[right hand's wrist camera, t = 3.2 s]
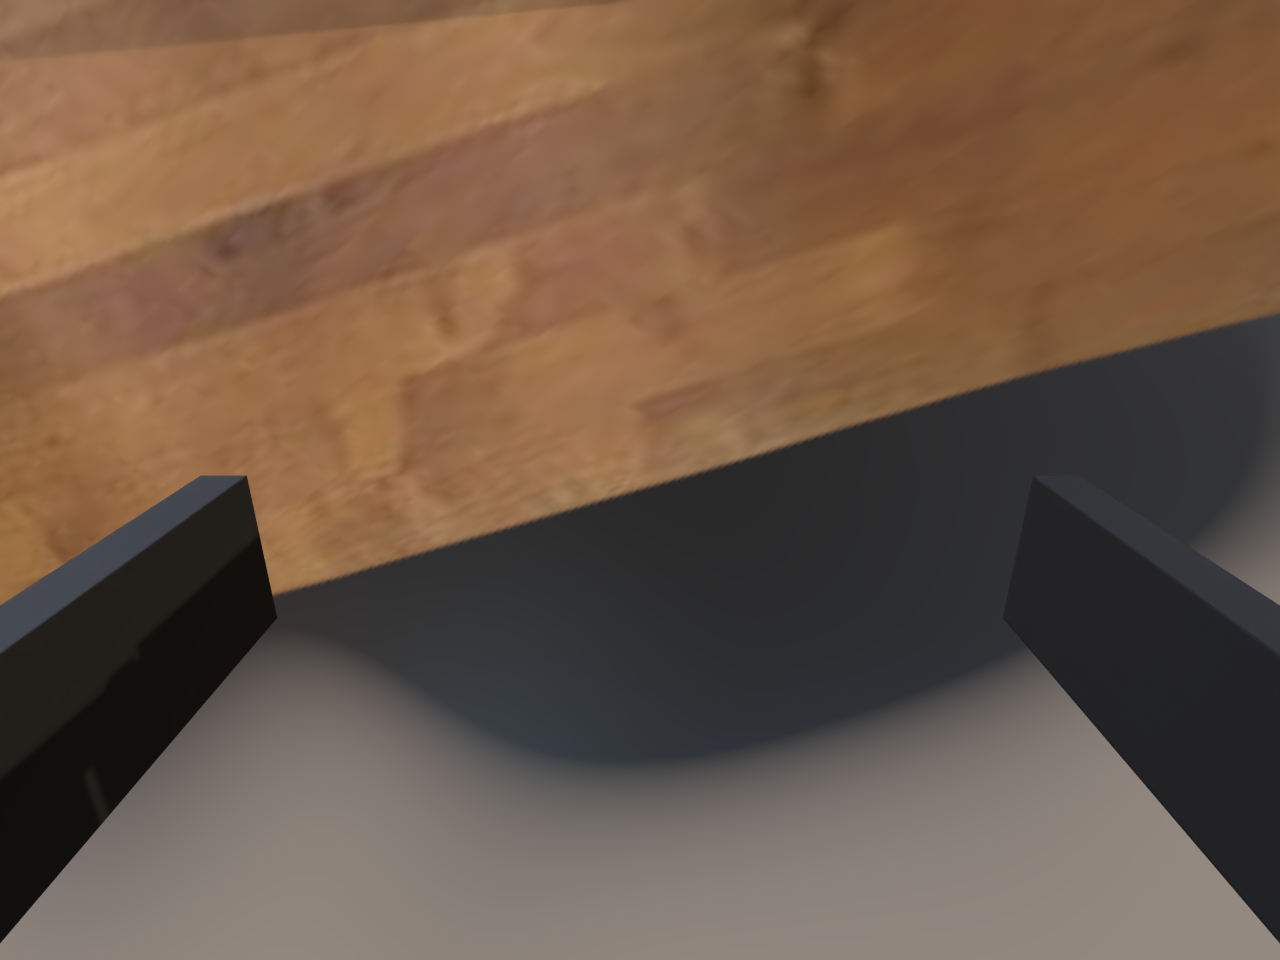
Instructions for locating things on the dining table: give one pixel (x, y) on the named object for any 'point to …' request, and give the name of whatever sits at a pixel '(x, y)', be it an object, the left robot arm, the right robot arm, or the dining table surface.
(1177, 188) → the dining table surface
